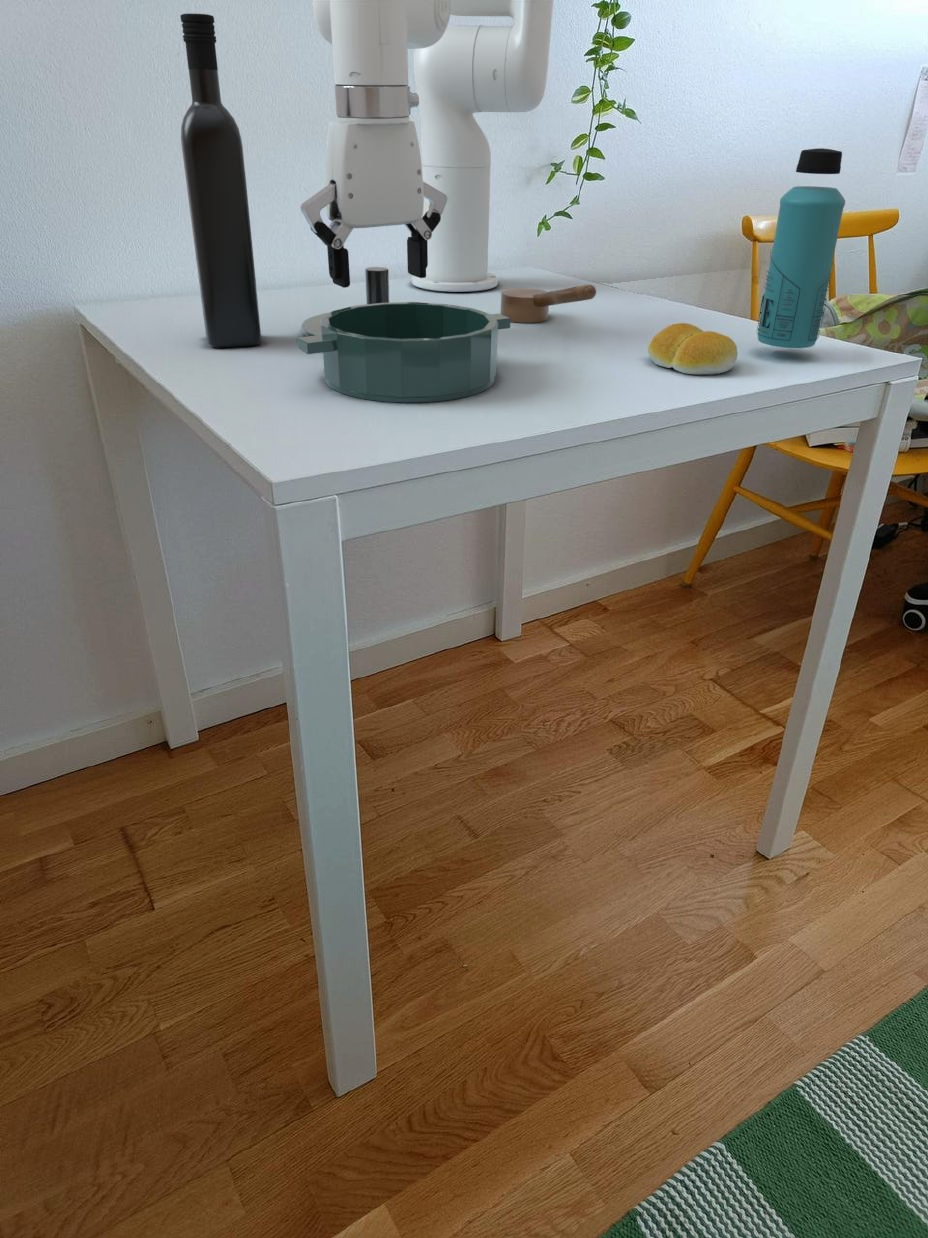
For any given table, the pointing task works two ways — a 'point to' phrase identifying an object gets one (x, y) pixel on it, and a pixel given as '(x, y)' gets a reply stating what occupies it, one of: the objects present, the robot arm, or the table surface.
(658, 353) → the bread roll
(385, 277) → the pot lid
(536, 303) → the brown handled cylinder
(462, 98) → the robot arm
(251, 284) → the wine bottle
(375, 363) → the pot
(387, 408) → the table surface
